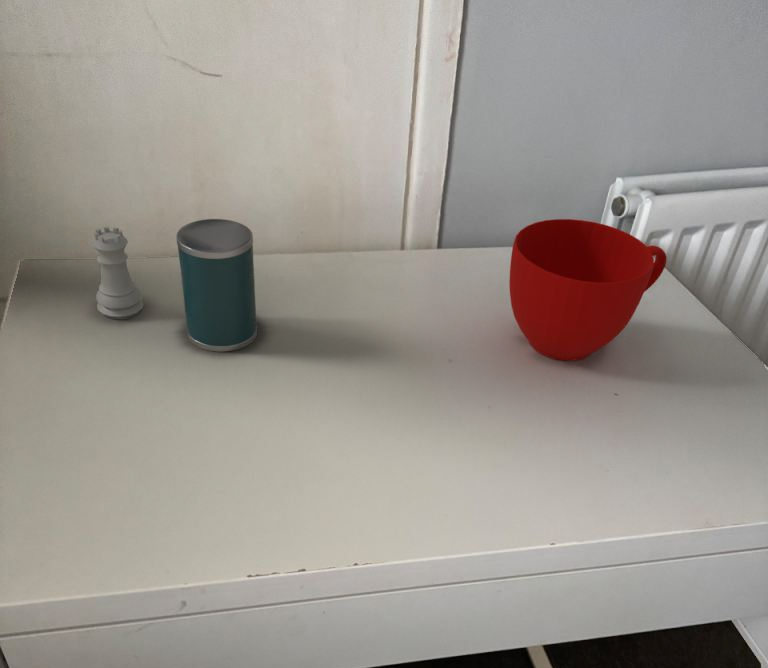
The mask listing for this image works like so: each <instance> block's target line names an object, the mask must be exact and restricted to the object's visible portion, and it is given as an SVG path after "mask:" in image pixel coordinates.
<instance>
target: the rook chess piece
mask: <svg viewBox="0 0 768 668" xmlns="http://www.w3.org/2000/svg"><path fill="white" fill-rule="evenodd" d="M93 236H94V238H93V240H92V241H91V246H92V247H93V248H94V250H96V251H97V252H98V256H97V257H96V259H97V260H96V261H97V262H99V265H100V284H99V286H98V291H97V292H96V297H95V299H96V302H97V305H96V307H97V311H98V312H100V313H101V314H102V315H104V317H106V318H108V319H112V320H125V319H130V318H132V317H135V316H137V315H138V314H139V313H140V312H141V311H142V309H143V307H144V305H145V304H144V301H143V299H142V297H143V295H142V293H141V290H140V288H138V286H136V283H135V282H134V281H133V279H132V277H131V275H130V272H129V267H128V264H127V260H128V254H127V253H126V252H125V248H126V246H127V245H128V243H129V241H128V239H127V237H125V235H124V234H123V231H122V230H120V228H119V227H116V226H114V227H113V228H112V230H111V231H110V226H103V231H102V229H101V228H97V229H96V230H95V232H94V233H93Z"/></svg>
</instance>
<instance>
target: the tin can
mask: <svg viewBox="0 0 768 668" xmlns="http://www.w3.org/2000/svg"><path fill="white" fill-rule="evenodd" d="M175 236H176V244H177V250H178V259H179V268H180V277H181V285H182V294H183V303H184V305H183V306H184V312H185V313H184V314H185V321H186V336H187V339H188V340H189V341H190V343H191V344H193V346H195V347H197V348H198V349H199V348H200V349H202V350H205V351H209V352H221V353H222V352H232V351H237V350H241V349H244V348H245V347H247V346H249V345H251V344H252V343H253V342H254V341H255V339H256V338H257V336H258V325H257V310H256V309H257V308H256V287H255V286H256V285H255V266H254V265H255V264H254V235H253V232H252V230H251V229H250V228H249V227H248V226H246V225H245V224H243V223H241V222H238V221H235V220H231V219H223V218H205V219H198V220H195V221H192V222H189V223H187V224H185V225H183V226H181V227H180V228H179V229H178V231H177V232H176V235H175Z"/></svg>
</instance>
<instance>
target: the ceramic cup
mask: <svg viewBox="0 0 768 668" xmlns="http://www.w3.org/2000/svg"><path fill="white" fill-rule="evenodd" d="M654 256H655V257H654ZM666 265H667V253H666V252H665V251H664V249H662V248H661V247H660V246H657V245H646V244H645V243H644V242H642V241H641V240H640V239H639V238H637V237H635V236H634V235H632V234H631V233H628V232H625V231H624V230H621V229H619V228H616V227H613V226H611V225H607V224H603V223H600V222H595V221H589V220H583V219H574V218H572V219H571V218H554V219H545V220H541V221H537V222H534V223H531V224H529V225H526V226H525V227H523V228H522V229H520V230H519V231H518V232H517V234H516V235H515V237H514V240H513V244H512V250H511V256H510V265H509V279H508V280H509V281H508V282H509V285H508V286H509V287H508V288H509V298H510V304H511V310H512V313H513V316H514V319H515V321H516V323H517V325H518V327H519V329H520V332H522V334H523V335H524V337H525V338H526V340H528V344H529V345H530V346H531V348H533V349H534V350H535V352H537V353H539V354H541V355H543V356H546V357H547V358H550V359H554V360H559V361H579V360H583V359H586V358H588V357H589V356H591V355H592V354H594V353H595V352H597V351H599V350H601V349H603V348H604V347H606V346H607V345H608V344H610V343H611V342H612V341H613V340H614V339H616V338H617V336H619V335H620V333H622V332H623V330H624V329H625V328H626V327H627V326H628V324H629V322H630V321H631V320H632V318H633V317H634V314H635V312H636V310H637V308H638V306H639V304H640V302H641V301H642V298H643V297H644V293H645V292H646V291H648V290H649V289H650V288H652V286H653V285H654V284H655V283H656V282H657V281H658V279H660V277H661V275H662V274H663V272H664V270H665V268H666Z"/></svg>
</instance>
